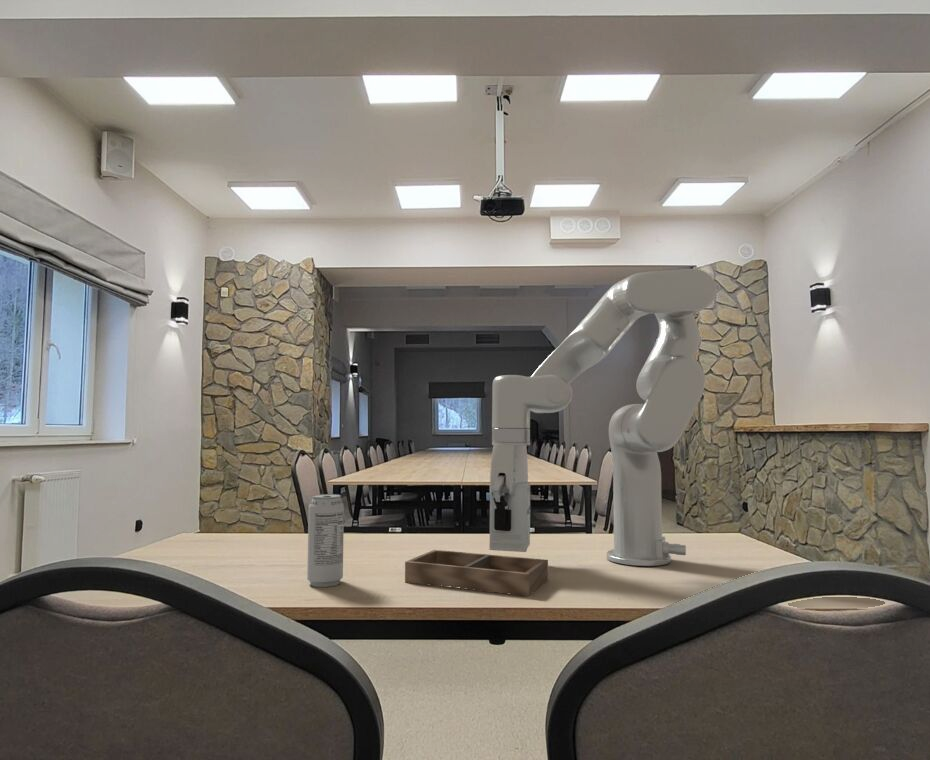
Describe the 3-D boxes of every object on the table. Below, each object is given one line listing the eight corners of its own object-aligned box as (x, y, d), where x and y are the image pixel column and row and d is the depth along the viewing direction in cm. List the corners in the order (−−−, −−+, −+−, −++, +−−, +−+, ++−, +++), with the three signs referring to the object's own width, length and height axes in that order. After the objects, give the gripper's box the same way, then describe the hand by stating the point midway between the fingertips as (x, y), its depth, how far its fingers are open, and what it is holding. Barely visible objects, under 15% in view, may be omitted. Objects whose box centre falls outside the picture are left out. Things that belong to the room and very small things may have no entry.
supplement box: (527, 552, 117) (527, 485, 118) (488, 550, 119) (488, 483, 120) (531, 545, 124) (531, 481, 125) (494, 543, 126) (494, 480, 127)
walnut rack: (548, 580, 110) (547, 559, 110) (528, 596, 99) (527, 574, 100) (434, 568, 119) (434, 549, 119) (404, 582, 108) (405, 561, 109)
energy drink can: (339, 577, 111) (341, 493, 112) (345, 586, 106) (346, 496, 107) (305, 580, 109) (307, 494, 110) (309, 589, 104) (310, 498, 105)
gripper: (507, 436, 133) (507, 519, 131) (476, 437, 117) (475, 532, 115) (541, 437, 130) (541, 522, 128) (514, 438, 114) (514, 535, 112)
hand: (510, 526), depth 122 cm, fingers closed on supplement box, 8 cm apart
